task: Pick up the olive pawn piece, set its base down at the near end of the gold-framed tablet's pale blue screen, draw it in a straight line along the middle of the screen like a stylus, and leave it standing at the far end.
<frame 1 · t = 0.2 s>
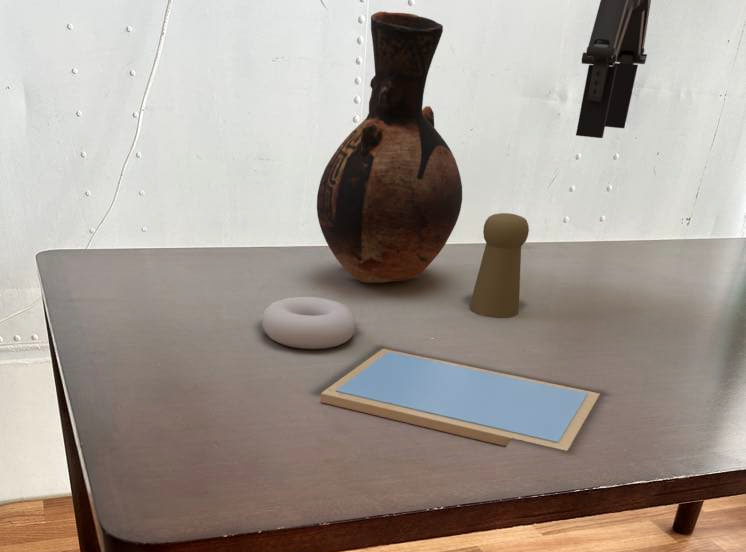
hand: (601, 132, 92), 20 cm above the table, tool pointing down, fingers open, 13 cm apart
ceramic vessel: (384, 280, 109), on the table
olive pawn piece: (493, 311, 100), on the table
tablet: (462, 402, 74), on the table
donut: (308, 339, 88), on the table
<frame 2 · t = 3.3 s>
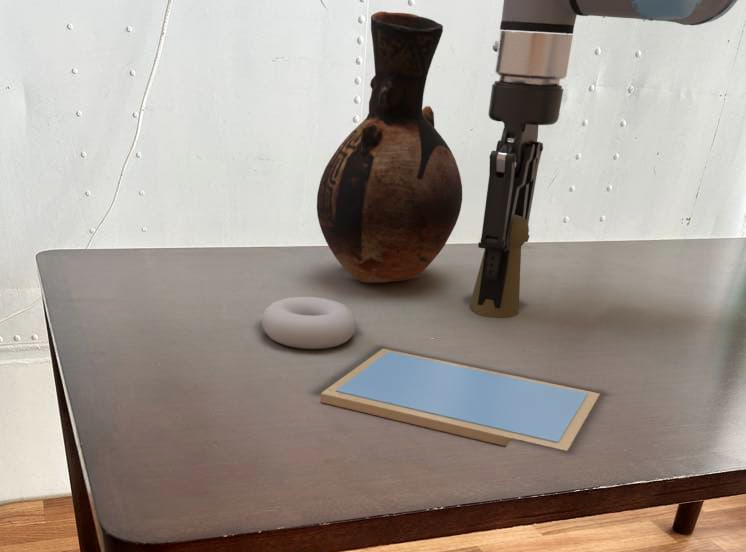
hand: (495, 300, 99), 1 cm above the table, tool pointing down, fingers closed on olive pawn piece, 4 cm apart
olive pawn piece: (493, 311, 100), on the table, touching gripper
everything else where it was.
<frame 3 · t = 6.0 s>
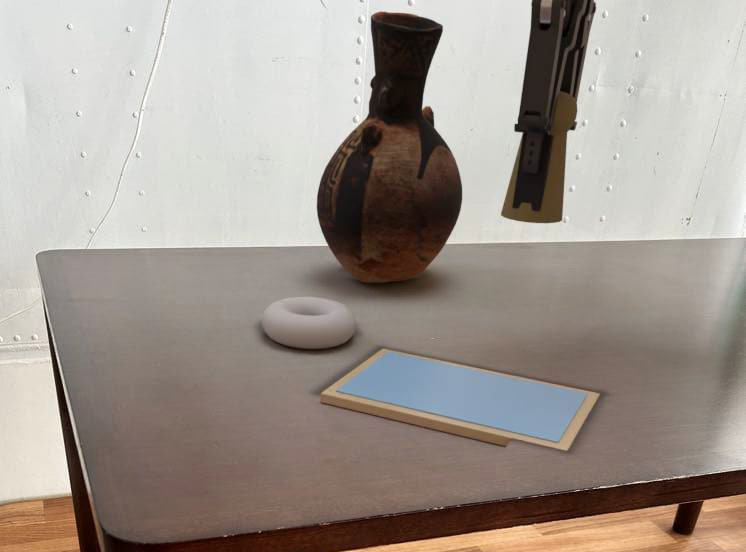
hand: (533, 204, 80), 14 cm above the table, tool pointing down, fingers closed on olive pawn piece, 4 cm apart
olive pawn piece: (530, 218, 81), point 13 cm above the table, touching gripper
everything else where it was.
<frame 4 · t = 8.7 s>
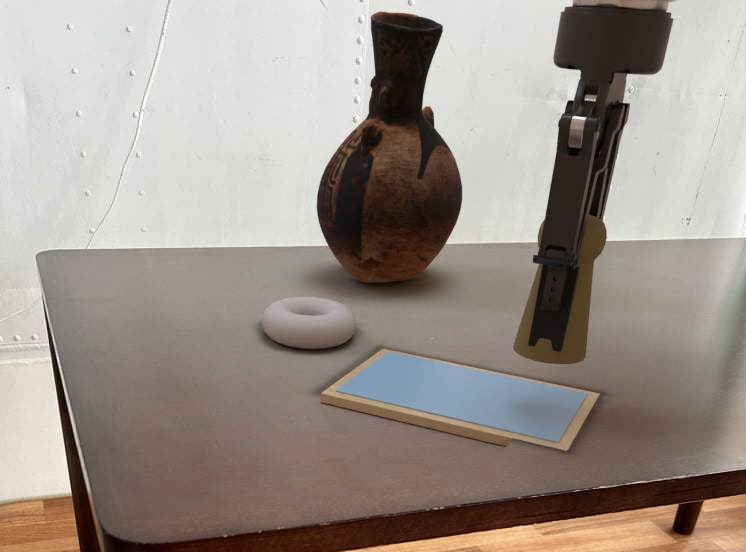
hand: (552, 338, 68), 7 cm above the table, tool pointing down, fingers closed on olive pawn piece, 4 cm apart
olive pawn piece: (548, 353, 69), point 6 cm above the table, touching gripper
everything else where it was.
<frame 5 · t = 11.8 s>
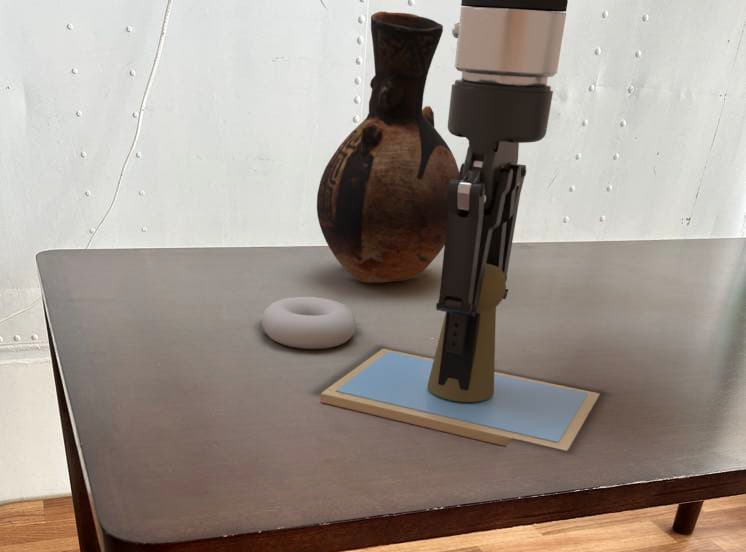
hand: (462, 376, 73), 2 cm above the table, tool pointing down, fingers closed on olive pawn piece, 4 cm apart
olive pawn piece: (460, 390, 74), point 1 cm above the table, touching gripper
everything else where it was.
when the fingers open (2 cm above the table, at t = 14.0 s): olive pawn piece stays where it is, resting on tablet.
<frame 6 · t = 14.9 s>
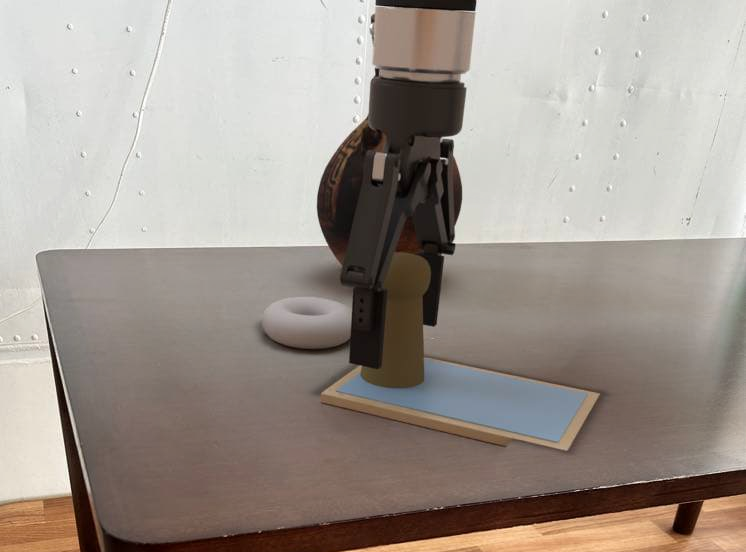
hand: (395, 343, 75), 4 cm above the table, tool pointing down, fingers open, 13 cm apart
olive pawn piece: (392, 378, 76), point 1 cm above the table, touching tablet
everything else where it was.
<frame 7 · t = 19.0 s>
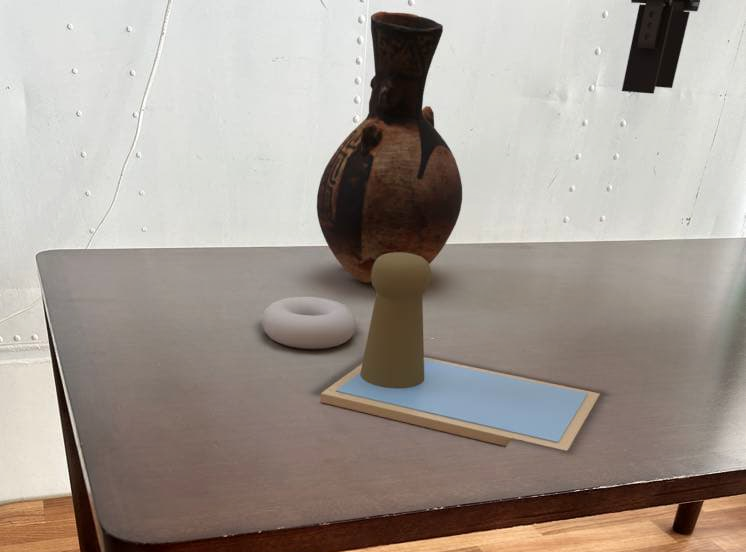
hand: (648, 90, 78), 25 cm above the table, tool pointing down, fingers open, 13 cm apart
nothing on the table moved.
at the end: olive pawn piece 0.2 cm from the target spot on the tablet, point 0.8 cm above the tablet's base; olive pawn piece tilted 0°; olive pawn piece moved 30.0 cm from its start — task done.
